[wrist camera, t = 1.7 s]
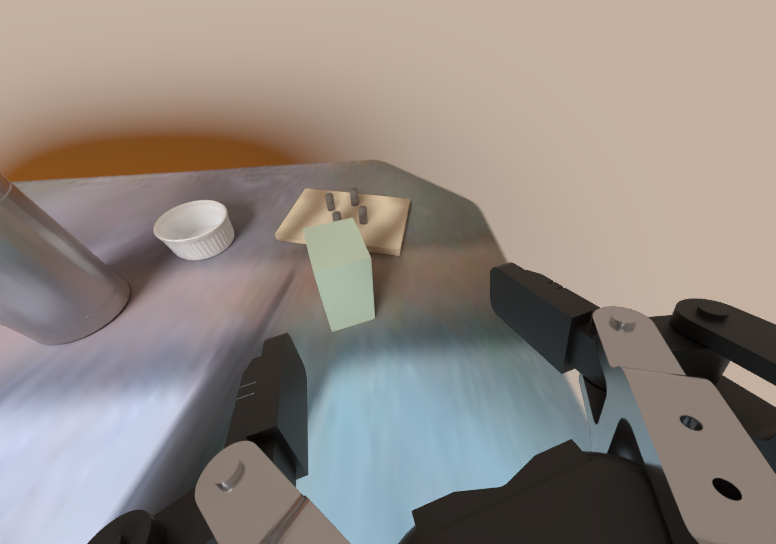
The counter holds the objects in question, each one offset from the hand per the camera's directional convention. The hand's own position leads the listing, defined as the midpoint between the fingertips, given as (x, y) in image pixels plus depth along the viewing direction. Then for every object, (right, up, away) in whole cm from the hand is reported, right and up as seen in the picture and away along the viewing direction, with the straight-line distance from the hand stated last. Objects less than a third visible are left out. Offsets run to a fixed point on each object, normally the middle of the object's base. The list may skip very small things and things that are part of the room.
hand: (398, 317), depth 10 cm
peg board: (-7, +10, +32) cm, 34 cm away
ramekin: (-27, +6, +29) cm, 40 cm away
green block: (-5, -2, +22) cm, 23 cm away
